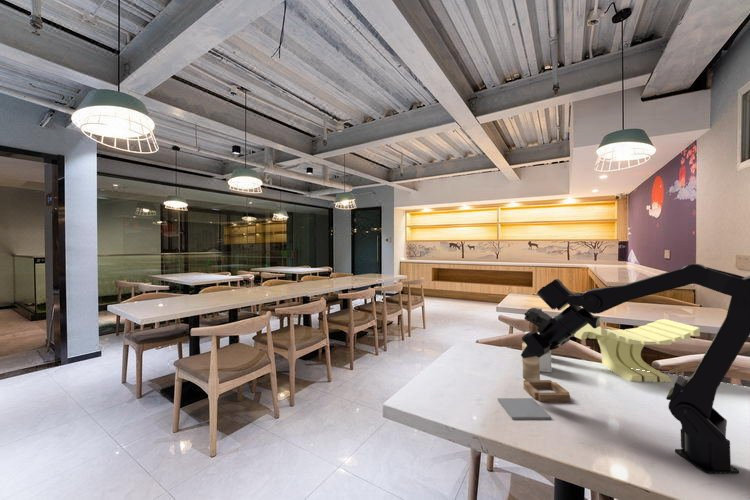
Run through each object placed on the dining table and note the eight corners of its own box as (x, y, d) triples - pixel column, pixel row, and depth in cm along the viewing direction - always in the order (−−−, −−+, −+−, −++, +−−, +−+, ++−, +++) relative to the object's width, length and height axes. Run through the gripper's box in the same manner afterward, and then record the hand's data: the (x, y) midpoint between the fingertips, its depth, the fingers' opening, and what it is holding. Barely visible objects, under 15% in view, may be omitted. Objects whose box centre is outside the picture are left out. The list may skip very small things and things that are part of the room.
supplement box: (529, 371, 109) (528, 336, 109) (525, 363, 116) (524, 331, 116) (552, 373, 107) (551, 337, 107) (546, 365, 114) (546, 332, 114)
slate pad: (551, 419, 78) (551, 416, 78) (512, 419, 78) (512, 416, 78) (532, 400, 88) (532, 398, 88) (497, 400, 88) (497, 398, 88)
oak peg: (543, 380, 86) (542, 345, 86) (529, 382, 85) (528, 347, 85) (532, 374, 90) (531, 341, 90) (519, 376, 89) (518, 342, 89)
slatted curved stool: (659, 364, 113) (658, 317, 113) (701, 382, 97) (699, 327, 97) (575, 363, 116) (573, 316, 116) (602, 380, 100) (601, 327, 100)
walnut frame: (572, 401, 86) (572, 394, 86) (537, 401, 86) (537, 394, 87) (552, 386, 96) (552, 380, 96) (521, 386, 96) (521, 380, 97)
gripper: (556, 296, 91) (520, 326, 99) (528, 303, 79) (490, 337, 87) (588, 327, 84) (547, 356, 93) (562, 340, 73) (518, 372, 81)
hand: (525, 354), depth 89 cm, fingers closed on oak peg, 4 cm apart
